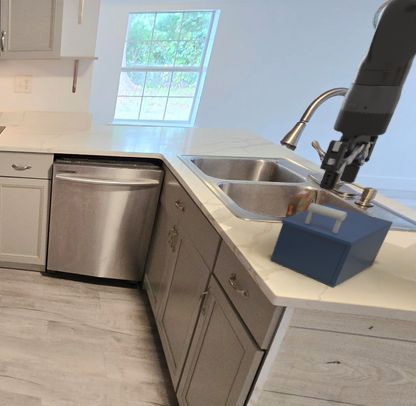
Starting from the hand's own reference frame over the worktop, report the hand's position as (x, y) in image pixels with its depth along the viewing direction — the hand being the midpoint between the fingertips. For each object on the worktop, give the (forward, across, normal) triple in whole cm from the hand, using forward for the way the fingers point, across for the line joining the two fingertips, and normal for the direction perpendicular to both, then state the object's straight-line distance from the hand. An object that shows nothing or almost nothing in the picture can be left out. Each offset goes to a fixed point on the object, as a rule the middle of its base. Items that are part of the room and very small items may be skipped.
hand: (336, 185), depth 78 cm
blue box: (+22, +7, 0) cm, 23 cm away
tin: (+22, +31, +16) cm, 41 cm away
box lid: (+11, +7, 0) cm, 13 cm away
